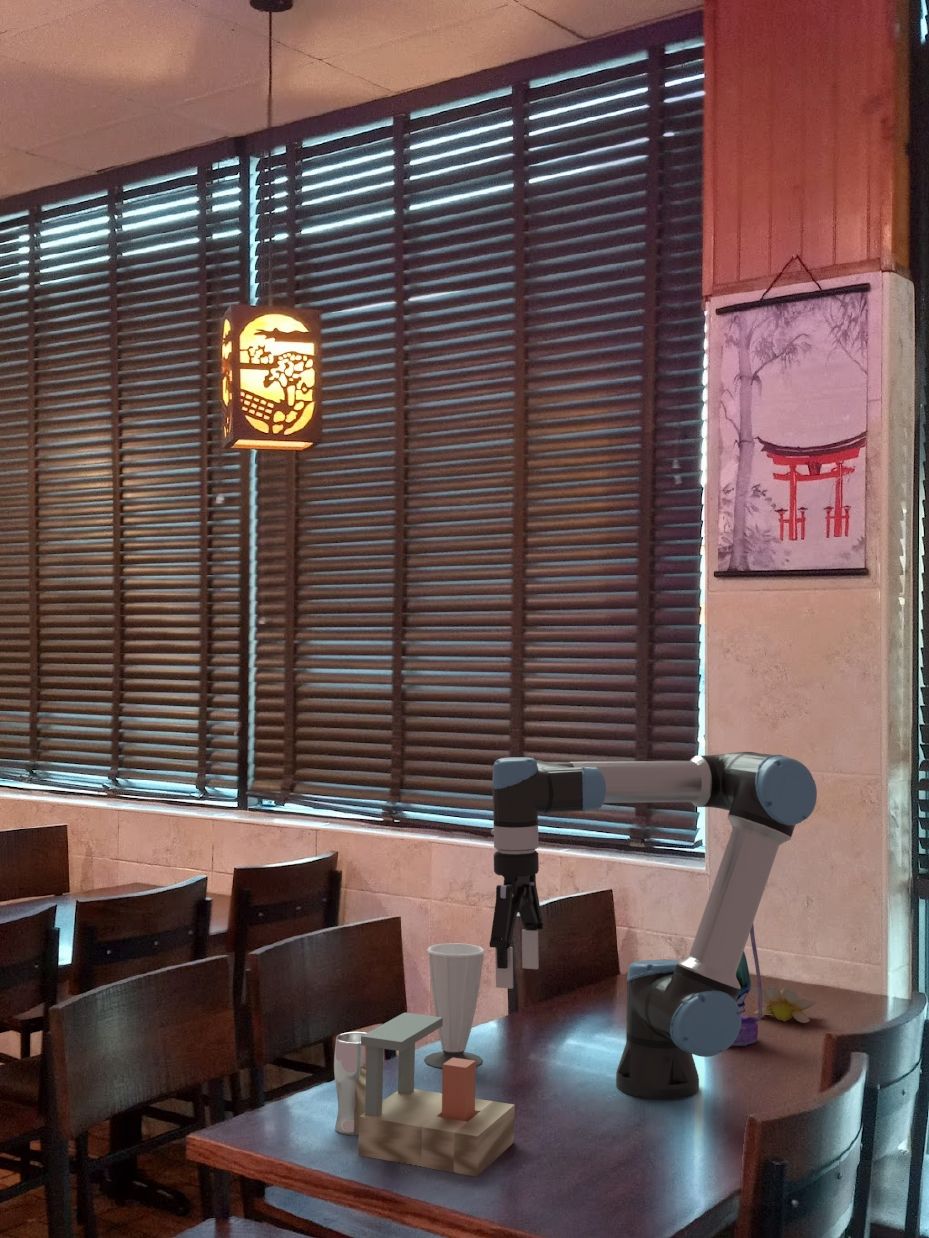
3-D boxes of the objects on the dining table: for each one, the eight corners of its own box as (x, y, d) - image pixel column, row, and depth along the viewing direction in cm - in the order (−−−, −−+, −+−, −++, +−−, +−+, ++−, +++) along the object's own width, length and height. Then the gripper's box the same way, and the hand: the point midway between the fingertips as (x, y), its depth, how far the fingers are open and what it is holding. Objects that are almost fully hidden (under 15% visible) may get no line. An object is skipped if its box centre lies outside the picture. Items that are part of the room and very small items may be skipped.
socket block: (513, 1142, 212) (514, 1104, 213) (476, 1176, 198) (477, 1136, 198) (402, 1123, 220) (402, 1086, 220) (358, 1155, 205) (359, 1116, 206)
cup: (490, 1056, 259) (492, 945, 260) (471, 1072, 248) (474, 957, 249) (435, 1049, 263) (438, 940, 264) (415, 1065, 252) (417, 952, 253)
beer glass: (332, 1121, 220) (335, 1031, 221) (374, 1121, 221) (376, 1031, 221) (332, 1136, 213) (334, 1043, 214) (375, 1136, 214) (377, 1043, 214)
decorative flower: (833, 1011, 293) (826, 968, 292) (816, 1033, 284) (809, 990, 282) (769, 1004, 301) (762, 963, 300) (750, 1026, 292) (744, 984, 291)
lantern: (692, 1043, 271) (694, 897, 272) (703, 1029, 282) (705, 888, 283) (757, 1051, 266) (758, 902, 267) (766, 1037, 277) (768, 894, 278)
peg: (474, 1149, 209) (475, 1060, 209) (464, 1158, 205) (466, 1067, 206) (450, 1145, 210) (452, 1057, 211) (440, 1154, 207) (442, 1064, 207)
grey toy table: (441, 1092, 218) (442, 1017, 218) (399, 1123, 203) (401, 1041, 203) (402, 1086, 220) (404, 1012, 221) (359, 1116, 206) (361, 1036, 206)
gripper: (518, 839, 233) (520, 959, 233) (468, 860, 210) (470, 994, 210) (558, 840, 231) (560, 962, 230) (513, 862, 208) (515, 997, 207)
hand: (517, 977), depth 220 cm, fingers open, 13 cm apart
